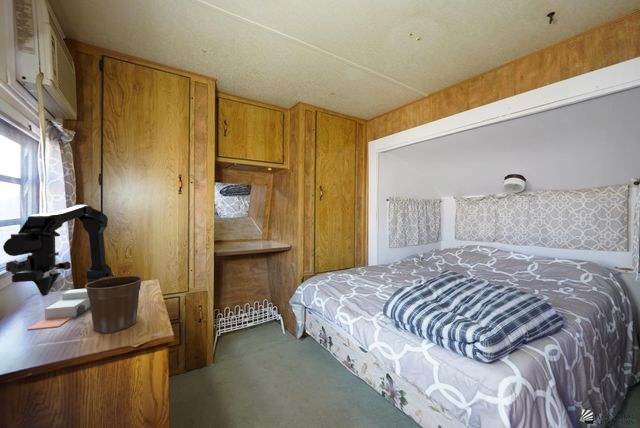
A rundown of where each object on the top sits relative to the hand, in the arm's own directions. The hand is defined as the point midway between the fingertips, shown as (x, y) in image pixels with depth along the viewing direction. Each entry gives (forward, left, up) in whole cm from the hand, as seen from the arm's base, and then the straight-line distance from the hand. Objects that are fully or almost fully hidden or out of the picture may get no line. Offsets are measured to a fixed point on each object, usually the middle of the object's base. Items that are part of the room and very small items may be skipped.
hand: (44, 295), depth 91 cm
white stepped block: (0, -16, -12) cm, 20 cm away
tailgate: (0, -7, -11) cm, 13 cm away
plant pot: (-23, +4, -12) cm, 26 cm away
